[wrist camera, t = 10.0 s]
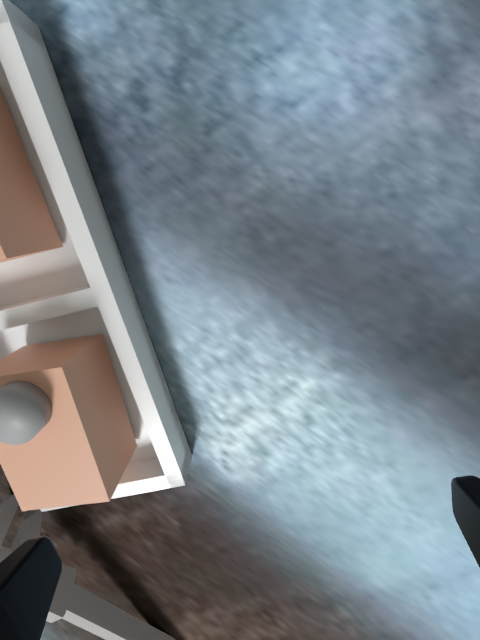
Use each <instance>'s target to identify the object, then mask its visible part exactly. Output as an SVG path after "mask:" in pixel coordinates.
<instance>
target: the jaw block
mask: <svg viewBox="0 0 480 640" xmlns="http://www.w3.org/2000/svg"><path fill="white" fill-rule="evenodd" d="M60 247H63V245H62V242H61V240H60V237H59V235H58V232H57V230H56V227H55V225H54V222H53V220H52V217H51V215H50V212H49V210H48V207H47V204H46V202H45V199H44V197H43V194H42V192H41V189H40V187H39V184H38V182H37V179H36V177H35V174H34V172H33V169H32V167H31V164H30V162H29V159H28V157H27V154H26V152H25V149H24V146H23V144H22V141H21V139H20V136H19V134H18V131H17V129H16V126H15V124H14V121H13V119H12V116H11V114H10V111H9V109H8V106H7V104H6V101H5V99H4V96H3V94H2V91H1V88H0V263H2V262H6V261H10V260H14V259H17V258H21V257H25V256H29V255H33V254H37V253H41V252H45V251H49V250H52V249H56V248H60Z"/></svg>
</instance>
